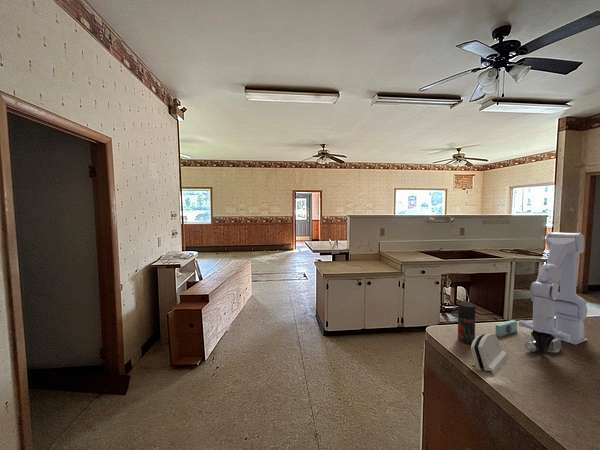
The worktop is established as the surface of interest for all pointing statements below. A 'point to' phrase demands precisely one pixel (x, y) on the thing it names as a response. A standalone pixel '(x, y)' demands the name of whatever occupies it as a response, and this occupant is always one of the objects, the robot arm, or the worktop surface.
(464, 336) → the deodorant
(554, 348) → the elbow
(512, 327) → the pale teal rectangular bar
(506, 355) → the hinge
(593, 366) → the worktop surface
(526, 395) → the worktop surface
